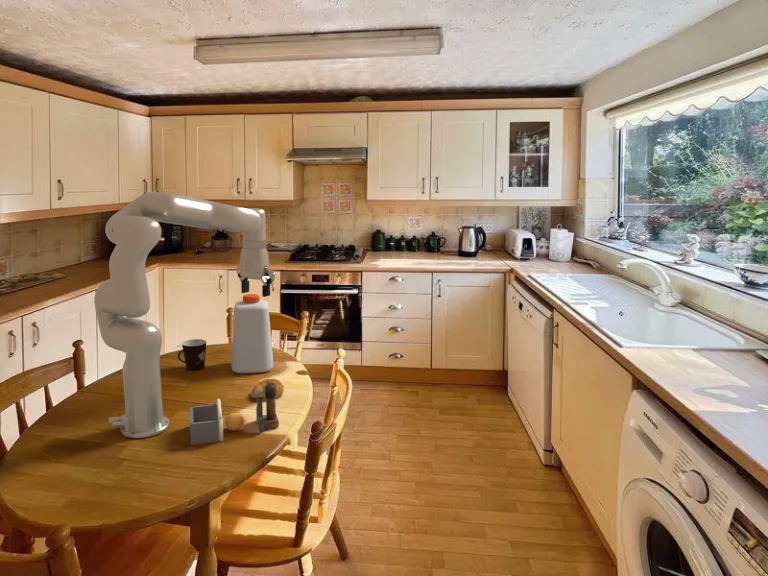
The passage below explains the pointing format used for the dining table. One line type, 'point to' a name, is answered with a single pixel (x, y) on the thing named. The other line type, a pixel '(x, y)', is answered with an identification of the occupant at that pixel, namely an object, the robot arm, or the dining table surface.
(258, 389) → the striker
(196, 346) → the coffee mug
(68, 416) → the dining table surface
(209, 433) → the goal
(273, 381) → the bagel
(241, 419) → the ball
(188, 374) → the dining table surface
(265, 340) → the plastic bottle
